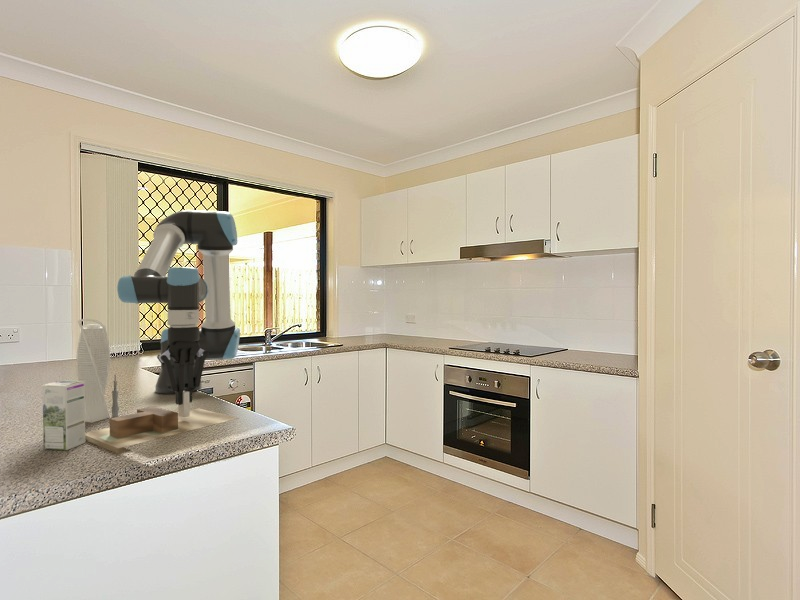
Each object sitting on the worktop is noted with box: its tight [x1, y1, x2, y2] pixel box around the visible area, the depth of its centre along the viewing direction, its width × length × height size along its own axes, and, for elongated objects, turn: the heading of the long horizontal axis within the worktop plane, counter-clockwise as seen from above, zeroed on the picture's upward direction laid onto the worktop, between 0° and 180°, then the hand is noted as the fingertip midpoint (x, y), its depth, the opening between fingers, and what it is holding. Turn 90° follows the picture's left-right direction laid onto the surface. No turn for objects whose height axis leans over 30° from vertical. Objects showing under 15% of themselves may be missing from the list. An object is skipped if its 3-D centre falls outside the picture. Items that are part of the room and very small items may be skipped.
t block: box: [109, 406, 178, 439], centre depth 110 cm, size 12×12×4 cm
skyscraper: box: [75, 318, 120, 424], centre depth 121 cm, size 8×8×28 cm
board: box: [85, 407, 239, 455], centre depth 115 cm, size 30×19×1 cm, turn 145°
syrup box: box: [42, 380, 87, 451], centre depth 102 cm, size 6×6×14 cm
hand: (184, 416), depth 119 cm, fingers closed
